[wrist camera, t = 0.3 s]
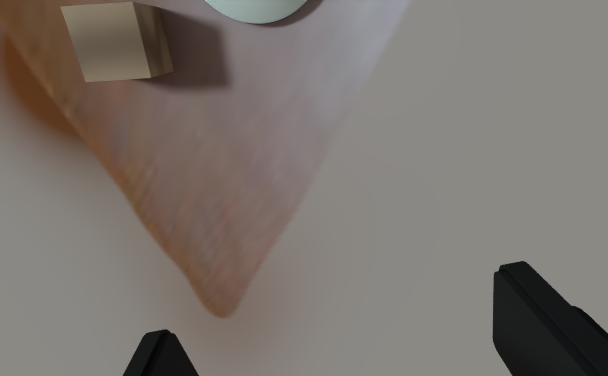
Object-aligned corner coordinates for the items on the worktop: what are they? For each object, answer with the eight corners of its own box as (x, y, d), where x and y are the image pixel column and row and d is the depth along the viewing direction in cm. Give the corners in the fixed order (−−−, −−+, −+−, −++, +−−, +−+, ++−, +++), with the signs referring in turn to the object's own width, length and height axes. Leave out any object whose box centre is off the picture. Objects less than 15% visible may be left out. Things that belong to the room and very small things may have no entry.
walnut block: (100, 11, 32) (60, 6, 27) (160, 7, 32) (132, 1, 27) (119, 74, 35) (85, 82, 29) (174, 71, 35) (151, 77, 29)
